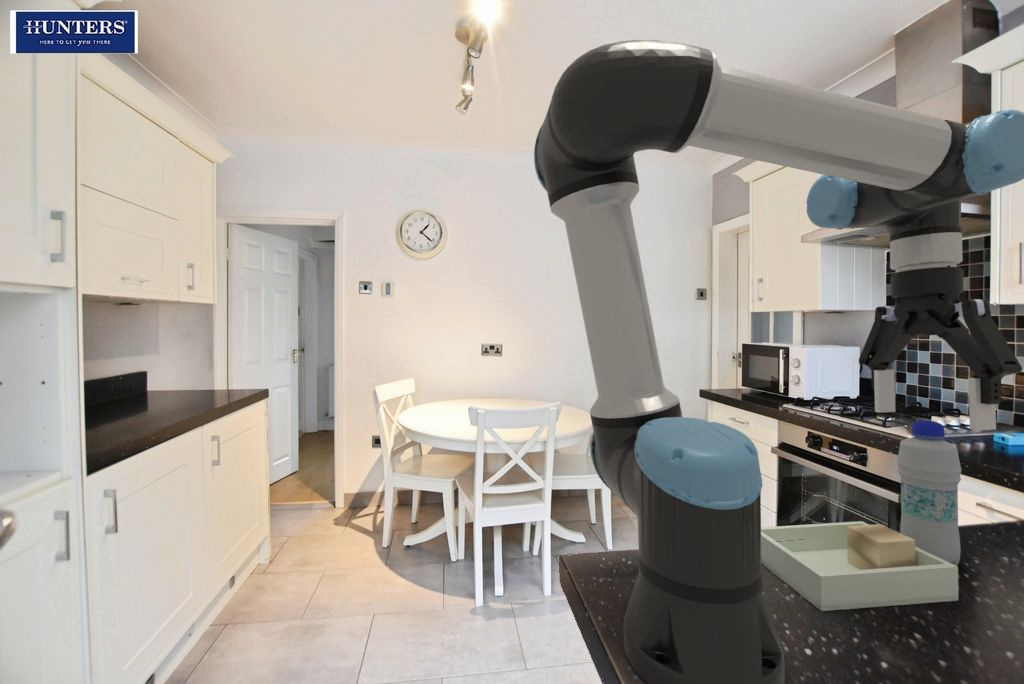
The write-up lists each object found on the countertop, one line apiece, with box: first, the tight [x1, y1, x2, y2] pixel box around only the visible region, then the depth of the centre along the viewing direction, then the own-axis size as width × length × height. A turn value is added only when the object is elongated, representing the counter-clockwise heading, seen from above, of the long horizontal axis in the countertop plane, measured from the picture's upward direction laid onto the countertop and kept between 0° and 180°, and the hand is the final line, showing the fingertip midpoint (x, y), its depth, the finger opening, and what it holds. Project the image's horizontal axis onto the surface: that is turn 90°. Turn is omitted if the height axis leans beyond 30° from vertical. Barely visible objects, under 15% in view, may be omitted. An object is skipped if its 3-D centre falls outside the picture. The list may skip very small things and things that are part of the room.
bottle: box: [896, 420, 963, 567], centre depth 64 cm, size 7×7×20 cm
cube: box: [847, 523, 915, 570], centre depth 61 cm, size 5×5×5 cm
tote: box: [761, 520, 959, 612], centre depth 61 cm, size 18×14×4 cm
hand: (928, 420), depth 64 cm, fingers open, 13 cm apart
